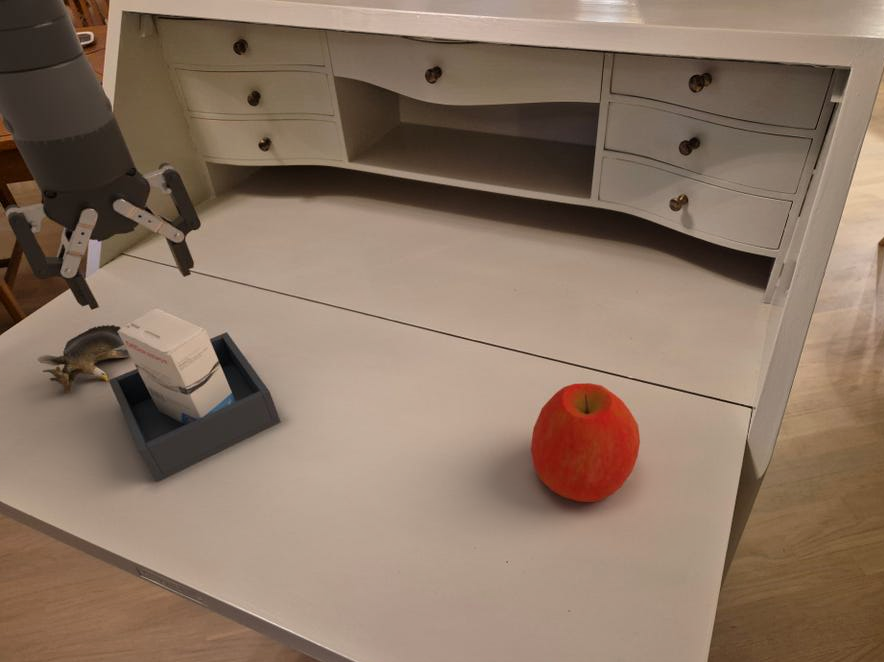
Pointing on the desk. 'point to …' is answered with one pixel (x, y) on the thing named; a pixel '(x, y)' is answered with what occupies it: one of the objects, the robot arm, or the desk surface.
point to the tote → (186, 445)
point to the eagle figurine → (85, 354)
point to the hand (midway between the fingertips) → (140, 288)
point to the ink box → (177, 365)
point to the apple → (585, 442)
